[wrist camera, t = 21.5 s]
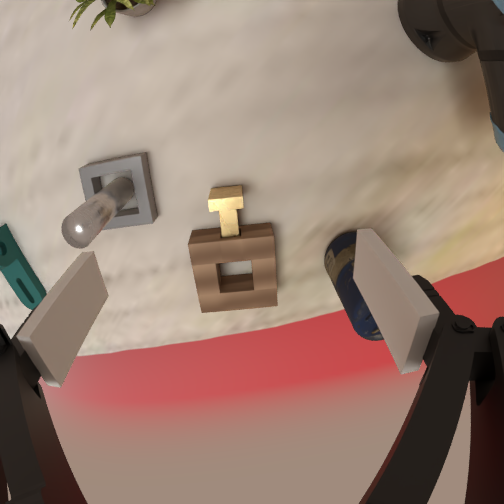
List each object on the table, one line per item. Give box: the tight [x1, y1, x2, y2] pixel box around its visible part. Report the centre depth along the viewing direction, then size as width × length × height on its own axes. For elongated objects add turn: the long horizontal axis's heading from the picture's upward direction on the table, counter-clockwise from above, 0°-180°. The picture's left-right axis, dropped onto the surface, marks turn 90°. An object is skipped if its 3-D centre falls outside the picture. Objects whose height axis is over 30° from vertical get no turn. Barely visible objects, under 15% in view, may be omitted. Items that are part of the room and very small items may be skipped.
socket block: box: [188, 223, 278, 313], centre depth 48 cm, size 12×12×5 cm
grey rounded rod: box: [62, 177, 134, 248], centre depth 37 cm, size 4×4×16 cm
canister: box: [325, 232, 384, 341], centre depth 43 cm, size 10×10×18 cm
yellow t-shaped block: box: [208, 185, 243, 238], centre depth 44 cm, size 10×4×6 cm, turn 5°
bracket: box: [0, 224, 47, 310], centre depth 45 cm, size 18×7×8 cm, turn 21°
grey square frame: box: [79, 152, 157, 230], centre depth 43 cm, size 10×10×3 cm
